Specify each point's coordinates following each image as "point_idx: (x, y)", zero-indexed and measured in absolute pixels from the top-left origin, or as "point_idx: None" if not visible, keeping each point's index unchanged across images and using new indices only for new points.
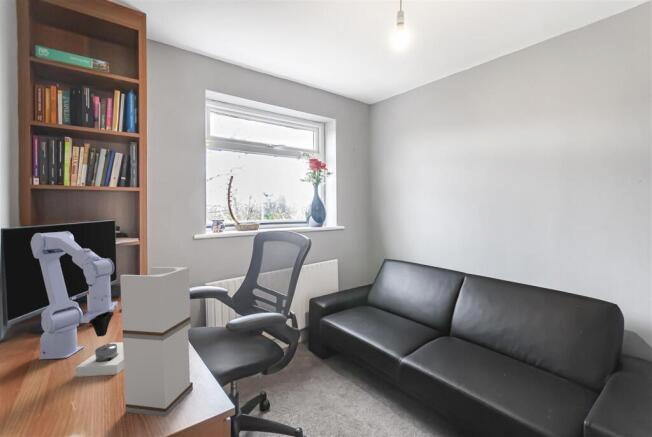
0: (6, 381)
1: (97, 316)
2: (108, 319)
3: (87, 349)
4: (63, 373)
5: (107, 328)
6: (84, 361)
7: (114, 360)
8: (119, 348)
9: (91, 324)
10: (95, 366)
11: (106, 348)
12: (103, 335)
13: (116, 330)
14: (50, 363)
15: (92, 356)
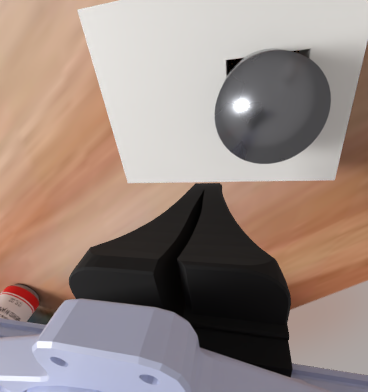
0: (296, 306)
1: (288, 362)
2: (169, 237)
3: None
4: (284, 216)
5: (183, 197)
6: (285, 178)
7: (309, 22)
8: (170, 106)
9: (37, 299)
10: (354, 92)
11: (280, 105)
12: (219, 185)
13: (31, 235)
14: None
15: (242, 176)
